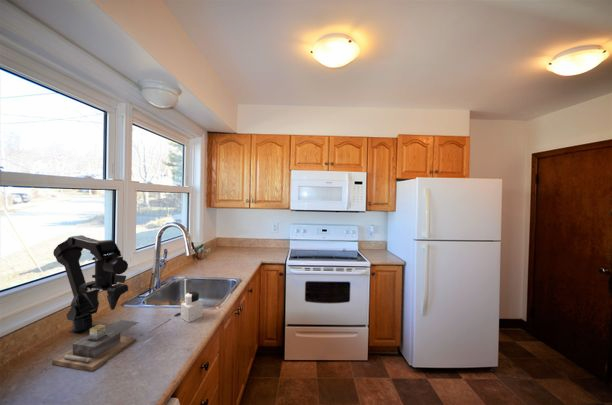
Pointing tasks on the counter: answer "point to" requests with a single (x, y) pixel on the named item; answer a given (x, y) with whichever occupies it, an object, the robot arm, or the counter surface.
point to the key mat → (121, 326)
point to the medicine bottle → (191, 307)
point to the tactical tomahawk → (165, 322)
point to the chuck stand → (93, 351)
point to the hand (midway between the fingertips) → (103, 308)
